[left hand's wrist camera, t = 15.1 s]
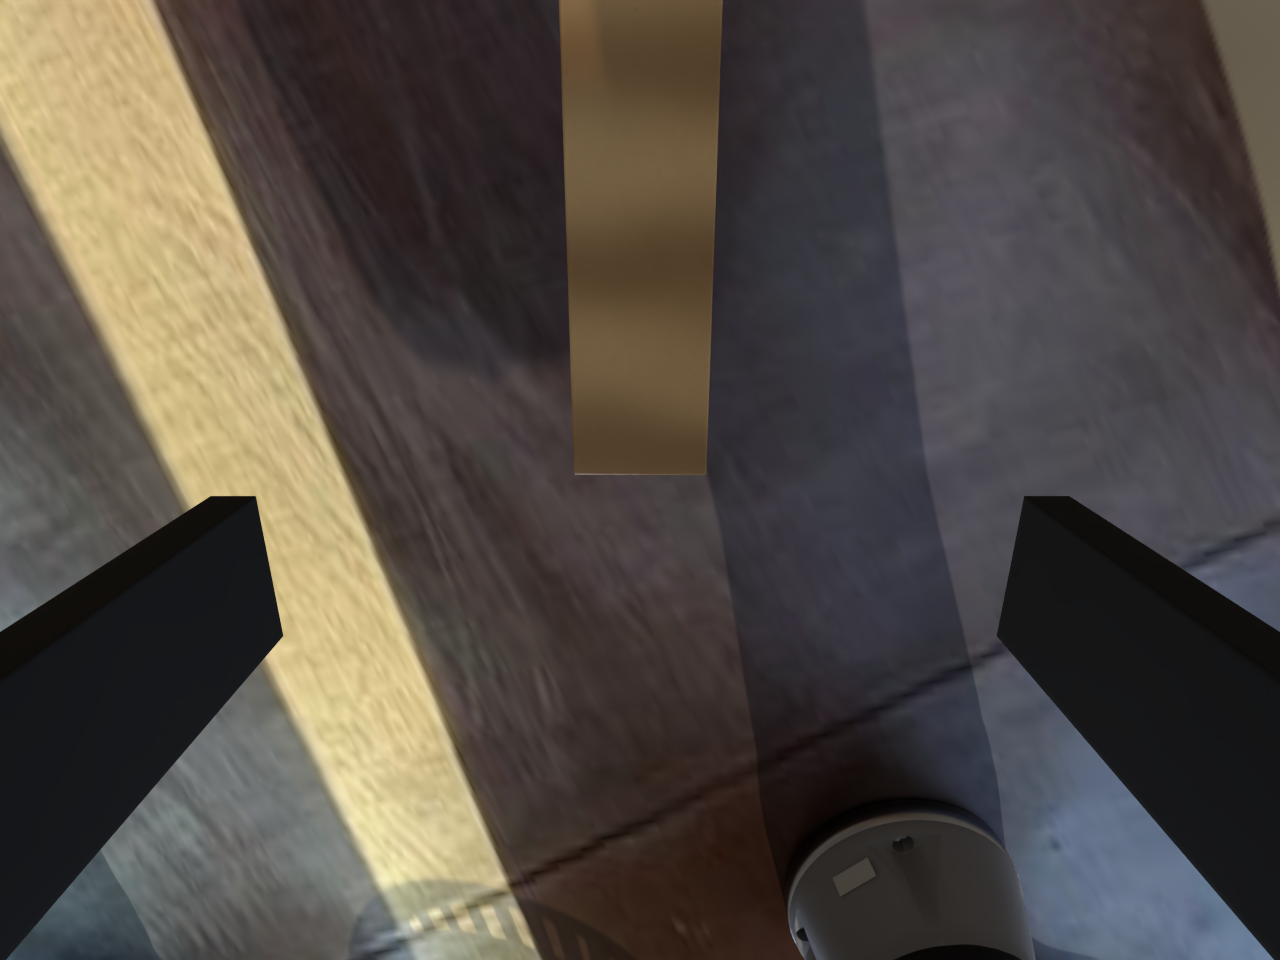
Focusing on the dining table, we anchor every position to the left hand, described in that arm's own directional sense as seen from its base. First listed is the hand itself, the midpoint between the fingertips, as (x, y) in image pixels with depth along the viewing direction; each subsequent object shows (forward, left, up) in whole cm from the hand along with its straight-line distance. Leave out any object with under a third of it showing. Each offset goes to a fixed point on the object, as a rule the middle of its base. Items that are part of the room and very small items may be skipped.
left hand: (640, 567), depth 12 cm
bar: (+6, -8, -25) cm, 27 cm away
